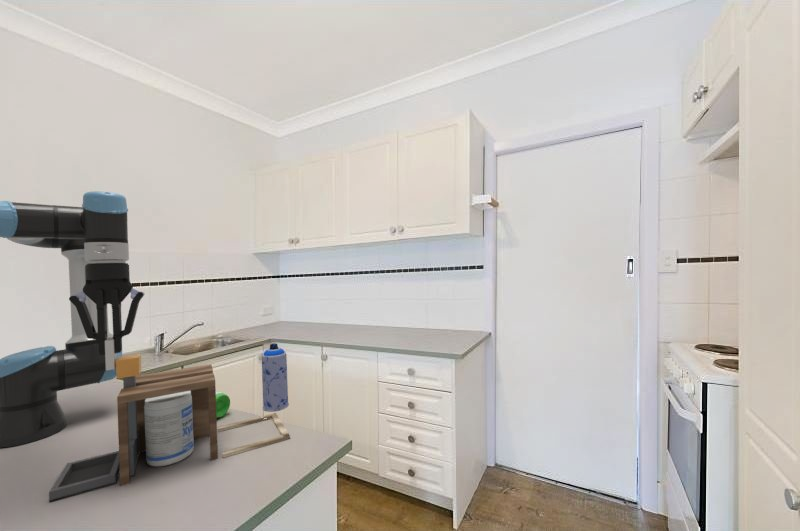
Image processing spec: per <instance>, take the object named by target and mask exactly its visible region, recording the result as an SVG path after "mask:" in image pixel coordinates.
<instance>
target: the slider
mask: <svg viewBox="0 0 800 531" xmlns="http://www.w3.org/2000/svg"><path fill="white" fill-rule="evenodd" d="M141 356H142V354H141V353H137V354H129V355H122V356H121V357H118V359H117V360H116V374H117V376H116V379H117V380H118V379H122V381H123V383H122V384H123V388H129V387H135V386H136V376H139V375H141V372H142V357H141ZM128 428H129V456H130V476H133V475H135V471H136V467H137V464H138V459H139V456H140V453H141V452H140V436H139V427H137V402H136V401H132V402H128Z"/></svg>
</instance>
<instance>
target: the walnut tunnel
mask: <svg viewBox="0 0 800 531" xmlns="http://www.w3.org/2000/svg"><path fill="white" fill-rule="evenodd" d="M185 391H191V396H192V414H193V440H194V439H199V438H203V437H207V436H209V455H210V456H209V457H210V461H213V460H216V459H218V458H219V450H218V448H219V447H218V428H217V427H218V422H217V421H218V420H217V419H218V418H217V416H216V392H217V391H216V377H215V374H214V369H213V366H212V364H203V365H197V366H191V367H185V368H179V369H173V370H172V369H171V370H165V371H159V372H153V373H147V374H140V375H137V376H136V386H135V387H129V388H124V387H123V388H120V391H119V393H118V394H117V397H116V403H117V406H116V407H117V431H118V433H117V434H118V436H117V437H118V451H119V466H120V472H119V486H120V487H122V486H125V485H128V484H129V485H130V482H131V475H130V456H129V428H128V402H132V401H136V402H137V427H139V436H140V453H142V452H146V441H145V416H144V406H145V399H148V398H153V397H158V396H164V395H169V394H174V393H180V392H185Z"/></svg>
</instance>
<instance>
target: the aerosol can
mask: <svg viewBox="0 0 800 531" xmlns="http://www.w3.org/2000/svg"><path fill="white" fill-rule="evenodd" d="M287 356H288V355H287V352H286V351H285V350H284V349H283V348H281V347H279V346H278V343H270V344H269V348H267V349H266V350H265V351H264V352H263V353H262V356H261V376H262V379H261V380H262V403H263V404H262V405H263V406H262V410H263V411H264V412H268V413H276V412H279V411H283V410H285V409H286V408H288V407H289V404H290V403H289V391H288V388H289V386H288V363H287V362H288V361H287V360H288V358H287Z"/></svg>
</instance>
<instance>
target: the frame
mask: <svg viewBox="0 0 800 531" xmlns="http://www.w3.org/2000/svg"><path fill="white" fill-rule="evenodd" d="M261 417H263V418H261ZM264 418H267V420H266V419H265V420H263V419H264ZM268 420H272V423H273V424H274V426H275V427H276V429H277V431H278V433H279V434H280V435H277V436H274V437H269V438H266V439H263V440H262V439H261V440H259V441H256V442H252V443H249V444H248V443H247V444H245V445H240V446H237V447H235V448H230V449H227V450H223V451H222V452H221V453H222V454H221V455H222V458H224V459H225V458H227V457H230V456H231V457H232V456H233V455H234V456H235V455H237V454H240V453H245V452H248V451H251V450H255V449H260V448H262V447H263V448H264V447H265V446H270V445H273V444H277V443H280V442H283V441H287V440H290V439H291V435H290V433H289V432H288V430H287V428H286V427H285V425H284V423H283V422H282V420H281V419H280V417H279V416H278V414H277V413H276V412H272V413H269V414H265V415H261V416H258V417H256V416H255V417H253V418H249V419H244V420H240V421H236V422H232V423H228V424H225V425H218V426H217V433H219V432H223V431H227V430H232V429H235V428H239V427H243V426H244V427H245V426H248V425H251V424H255V423H259V422H264V421H268ZM273 420H274V421H273ZM276 421H278V422H276ZM280 422H282V423H280Z"/></svg>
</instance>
